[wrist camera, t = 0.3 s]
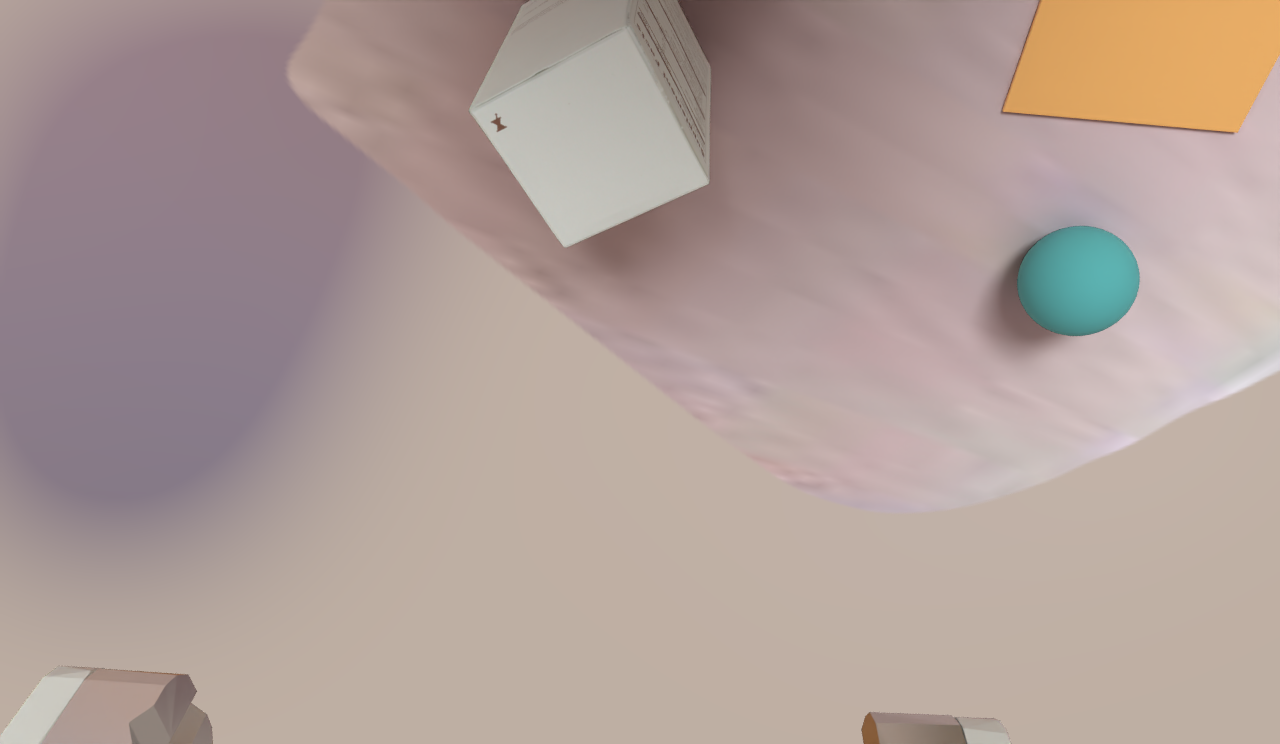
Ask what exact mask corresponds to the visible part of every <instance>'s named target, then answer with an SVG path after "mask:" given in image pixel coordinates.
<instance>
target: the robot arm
mask: <svg viewBox="0 0 1280 744" xmlns="http://www.w3.org/2000/svg"><path fill="white" fill-rule="evenodd" d="M196 692H197V690H196V688H195V687H194V685H193V683H192V681H191V679H190V677H189V675H188V674H172V673H158V672H143V671H128V670H113V669H104V668H90V667H70V666H58V667H56V668H55V669H54V670H52V671H51V672H49V673H48V674H47V675H45V676H44V677H43V678H42V679H41V680H40V682H39V683H38V684H37V686H36V687H35V688H34V690H33V691H32V692H31V694H30V695H29V697H28V698H27V699H26V701H25V702H24V703H23V705H22V706H21V707H20V709H19V710H18V712H17V713H16V714H15V716H14V717H13V718H12V720H11V721H10V722H9V724H8V725H7V727H6V728H5V729H4V731H3V732H2V733H1V735H0V744H213V736H212V726H211V723H210V721H209V718H208V716H207V714H206V713H204V712H203V711H202V710H200V709H199V708H197V707H196V706H195V705H193V704H192V703H191V701H192V700H193V698H194V696H195V694H196ZM862 736H863V742H864V744H1011V741H1010V738H1009V735H1008V732H1007V729H1006V728H1005V727H1004V725H1003V724H1002V723H1001V722H1000V720H997V719H994V718H969V717H953V716H951V715H929V714H904V713H878V712H869V713H868V714H867V715H866V716H865V719H864V722H863V726H862Z"/></svg>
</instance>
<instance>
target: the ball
mask: <svg viewBox="0 0 1280 744" xmlns="http://www.w3.org/2000/svg"><path fill="white" fill-rule="evenodd" d="M1139 278H1140V277H1139V269H1138V265H1137V261H1136V259H1135V257H1134V255H1133V253H1132V252H1131V250H1130V249H1129V248H1128V246H1127V245H1126V244H1125V243H1124V242H1123V241H1122V240H1121V239H1119V238H1118V237H1117V236H1115V235H1113V234H1112V233H1109V232H1107V231H1105V230H1103V229H1099V228H1095V227H1089V226H1073V227H1067V228H1063V229H1059V230H1057V231H1054V232H1052V233H1050V234H1048V235H1046V236H1045V237H1043V238H1042V239H1041V240H1039V241H1038V242H1037V243H1036V244H1035V245H1034V246H1033V247H1032V248H1031V249H1030V250H1029V251H1028V253H1027V254H1026V256H1025V257H1024V259H1023V261H1022V263H1021V266H1020V269H1019V273H1018V279H1017V288H1018V295H1019V298H1020V301H1021V303H1022V305H1023V307H1024V309H1025V311H1026V312H1027V314H1028V315H1029V316H1030V317H1031V318H1032V319H1033V320H1034V321H1035V322H1036V323H1038V324H1039V325H1040V326H1042V327H1044V328H1045V329H1047V330H1050V331H1052V332H1054V333H1058V334H1062V335H1068V336H1083V335H1089V334H1094V333H1097V332H1100V331H1102V330H1105V329H1107V328H1108V327H1110V326H1112V325H1113V324H1115V323H1116V322H1117V321H1119V320H1120V319H1121V318H1122V317H1123V316H1124V315H1125V314H1126V313H1127V312H1128V310H1129V309H1130V307H1131V306H1132V304H1133V302H1134V300H1135V298H1136V296H1137V292H1138V288H1139Z"/></svg>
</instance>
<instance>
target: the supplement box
mask: <svg viewBox="0 0 1280 744" xmlns="http://www.w3.org/2000/svg"><path fill="white" fill-rule="evenodd" d="M710 96H711V67H710V65H709V63H708V61H707V59H706V57H705V55H704V53H703V51H702V49H701V47H700V45H699V43H698V41H697V39H696V37H695V35H694V33H693V31H692V29H691V27H690V25H689V23H688V21H687V19H686V17H685V15H684V13H683V11H682V9H681V7H680V5H679V3H678V1H677V0H530V1H528V2H527V3H525V4H523V5H522V6H521V8H520V11H519V13H518V14H517V16H516V18H515V20H514V22H513V24H512V26H511V28H510V30H509V32H508V34H507V36H506V38H505V40H504V42H503V44H502V46H501V48H500V49H499V51H498V53H497V55H496V57H495V59H494V61H493V63H492V65H491V67H490V69H489V71H488V73H487V75H486V77H485V79H484V81H483V83H482V85H481V87H480V88H479V90H478V92H477V94H476V96H475V98H474V100H473V102H472V104H471V106H470V108H469V112H470V114H471V115H472V117H473V118H474V119H475V121H476V122H477V123H478V125H479V126H480V128H481V129H482V130H483V132H484V133H485V135H486V136H487V137H488V139H489V140H490V142H491V143H492V144H493V146H494V147H495V149H496V150H497V151H498V153H499V154H500V156H501V157H502V159H503V160H504V162H505V163H506V165H507V166H508V167H509V169H510V170H511V172H512V173H513V175H514V176H515V178H516V179H517V181H518V182H519V184H520V185H521V187H522V188H523V189H524V191H525V192H526V194H527V195H528V197H529V198H530V200H531V201H532V203H533V204H534V206H535V207H536V208H537V210H538V211H539V213H540V214H541V216H542V217H543V219H544V220H545V222H546V223H547V224H548V226H549V227H550V229H551V230H552V232H553V233H554V235H555V236H556V238H557V239H558V240H559V242H560V243H561V244H562V246H563V247H565V248H567V247H569V246H572V245H574V244H576V243H578V242H581V241H583V240H585V239H587V238H590V237H592V236H594V235H596V234H599V233H601V232H603V231H605V230H608V229H610V228H612V227H614V226H617V225H619V224H621V223H623V222H625V221H628V220H630V219H632V218H634V217H637V216H639V215H641V214H643V213H646V212H648V211H650V210H652V209H654V208H657V207H659V206H661V205H663V204H666V203H668V202H670V201H672V200H674V199H677V198H679V197H681V196H683V195H686V194H688V193H690V192H692V191H694V190H697V189H699V188H701V187H704V186H706V185H708V184H709V182H710V102H711V98H710Z"/></svg>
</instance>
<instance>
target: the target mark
mask: <svg viewBox="0 0 1280 744" xmlns="http://www.w3.org/2000/svg"><path fill="white" fill-rule="evenodd" d="M1279 55H1280V0H1040V2H1039V5H1038V8H1037V11H1036V14H1035V17H1034V19H1033V22H1032V25H1031V28H1030V31H1029V34H1028V37H1027V40H1026V43H1025V45H1024V48H1023V51H1022V54H1021V57H1020V60H1019V63H1018V66H1017V68H1016V71H1015V74H1014V77H1013V80H1012V83H1011V86H1010V89H1009V92H1008V94H1007V97H1006V100H1005V103H1004V106H1003V109H1002V111H1003V112H1013V113H1025V114H1036V115H1047V116H1058V117H1069V118H1081V119H1092V120H1103V121H1114V122H1125V123H1137V124H1148V125H1159V126H1170V127H1181V128H1193V129H1204V130H1215V131H1226V132H1238V131H1239V129H1240V127H1241V125H1242V123H1243V121H1244V119H1245V118H1246V116H1247V114H1248V112H1249V110H1250V108H1251V106H1252V105H1253V103H1254V101H1255V99H1256V97H1257V95H1258V93H1259V92H1260V90H1261V88H1262V86H1263V84H1264V82H1265V80H1266V79H1267V77H1268V75H1269V73H1270V71H1271V69H1272V67H1273V66H1274V64H1275V62H1276V60H1277V58H1278V56H1279Z"/></svg>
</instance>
